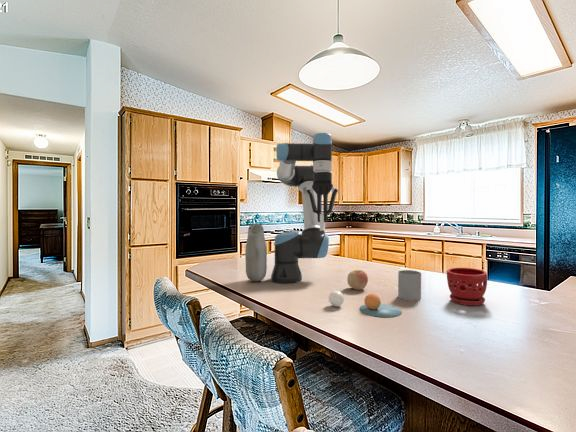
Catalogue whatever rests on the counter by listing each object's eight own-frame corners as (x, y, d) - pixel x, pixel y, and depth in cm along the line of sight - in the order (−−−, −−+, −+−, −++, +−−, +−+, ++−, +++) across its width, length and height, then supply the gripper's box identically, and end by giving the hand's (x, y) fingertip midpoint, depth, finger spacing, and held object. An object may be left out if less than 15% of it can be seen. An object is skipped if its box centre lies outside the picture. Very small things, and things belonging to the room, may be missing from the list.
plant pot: (450, 295, 128) (451, 265, 128) (489, 301, 120) (489, 269, 119) (442, 303, 118) (443, 271, 117) (483, 310, 109) (484, 275, 109)
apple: (366, 286, 142) (366, 269, 142) (369, 292, 133) (369, 273, 133) (346, 286, 143) (346, 268, 143) (348, 291, 134) (348, 272, 134)
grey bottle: (243, 280, 156) (242, 223, 155) (262, 278, 160) (262, 222, 159) (249, 284, 147) (248, 224, 146) (269, 282, 151) (269, 223, 150)
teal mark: (351, 308, 112) (351, 307, 112) (379, 301, 119) (379, 301, 119) (380, 320, 100) (380, 319, 100) (410, 312, 107) (410, 312, 107)
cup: (422, 301, 120) (423, 275, 120) (400, 300, 122) (400, 274, 122) (418, 295, 129) (418, 270, 128) (397, 294, 130) (397, 269, 130)
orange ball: (378, 290, 110) (386, 305, 109) (370, 291, 115) (377, 305, 114) (366, 297, 108) (374, 312, 107) (358, 298, 113) (366, 312, 112)
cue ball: (344, 290, 113) (348, 305, 112) (338, 288, 118) (341, 302, 118) (330, 294, 111) (334, 309, 111) (324, 292, 117) (328, 307, 116)
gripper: (304, 171, 127) (304, 230, 128) (336, 170, 123) (336, 231, 123) (309, 173, 134) (309, 229, 135) (340, 172, 130) (340, 229, 130)
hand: (322, 230), depth 129 cm, fingers closed
